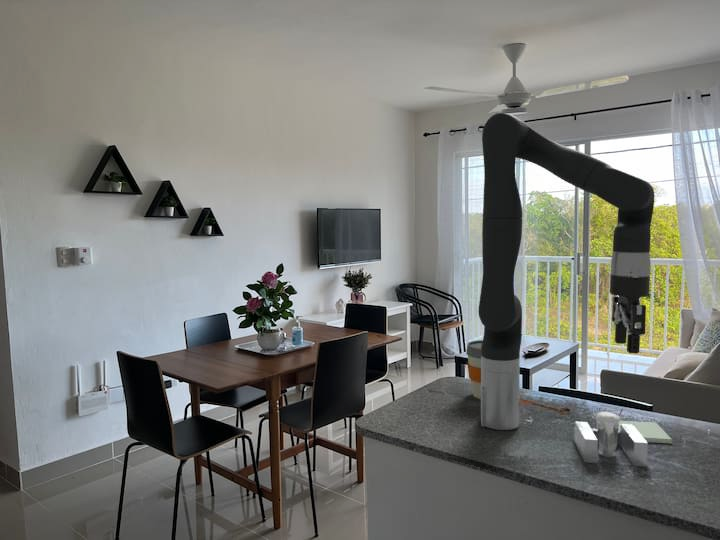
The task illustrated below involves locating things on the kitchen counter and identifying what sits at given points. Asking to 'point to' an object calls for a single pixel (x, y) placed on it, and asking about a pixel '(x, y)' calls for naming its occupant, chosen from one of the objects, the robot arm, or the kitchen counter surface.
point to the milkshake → (607, 433)
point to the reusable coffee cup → (475, 366)
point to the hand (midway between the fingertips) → (626, 347)
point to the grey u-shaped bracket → (626, 439)
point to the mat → (649, 431)
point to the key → (544, 406)
